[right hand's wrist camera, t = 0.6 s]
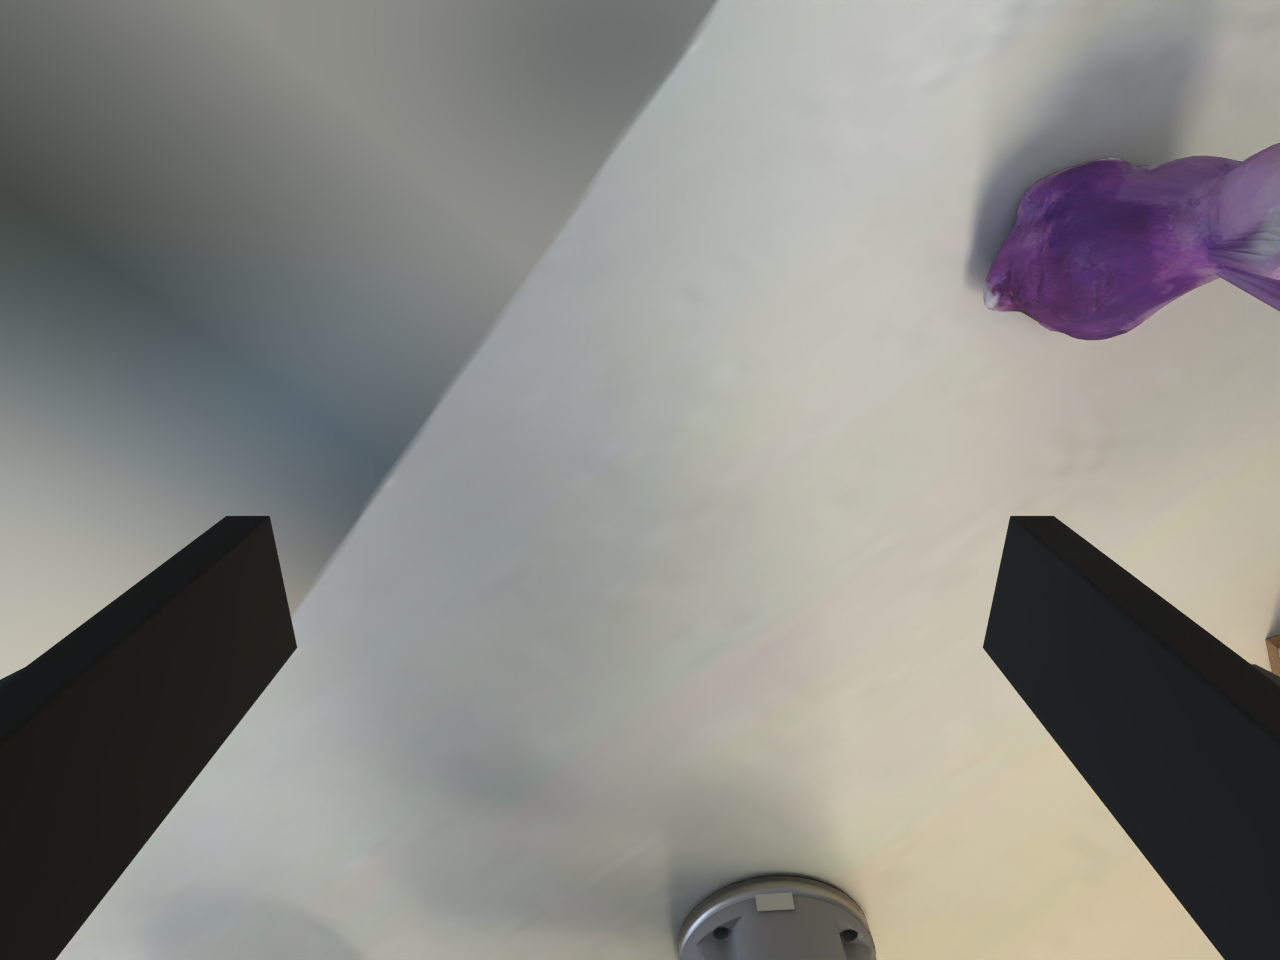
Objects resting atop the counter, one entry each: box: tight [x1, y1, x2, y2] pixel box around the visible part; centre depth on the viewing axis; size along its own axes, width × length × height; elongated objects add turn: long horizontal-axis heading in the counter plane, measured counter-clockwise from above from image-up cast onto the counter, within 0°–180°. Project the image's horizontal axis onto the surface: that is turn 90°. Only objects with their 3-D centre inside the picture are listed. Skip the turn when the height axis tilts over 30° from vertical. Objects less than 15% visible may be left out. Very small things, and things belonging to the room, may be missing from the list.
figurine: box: [984, 143, 1280, 340], centre depth 30 cm, size 9×10×15 cm
